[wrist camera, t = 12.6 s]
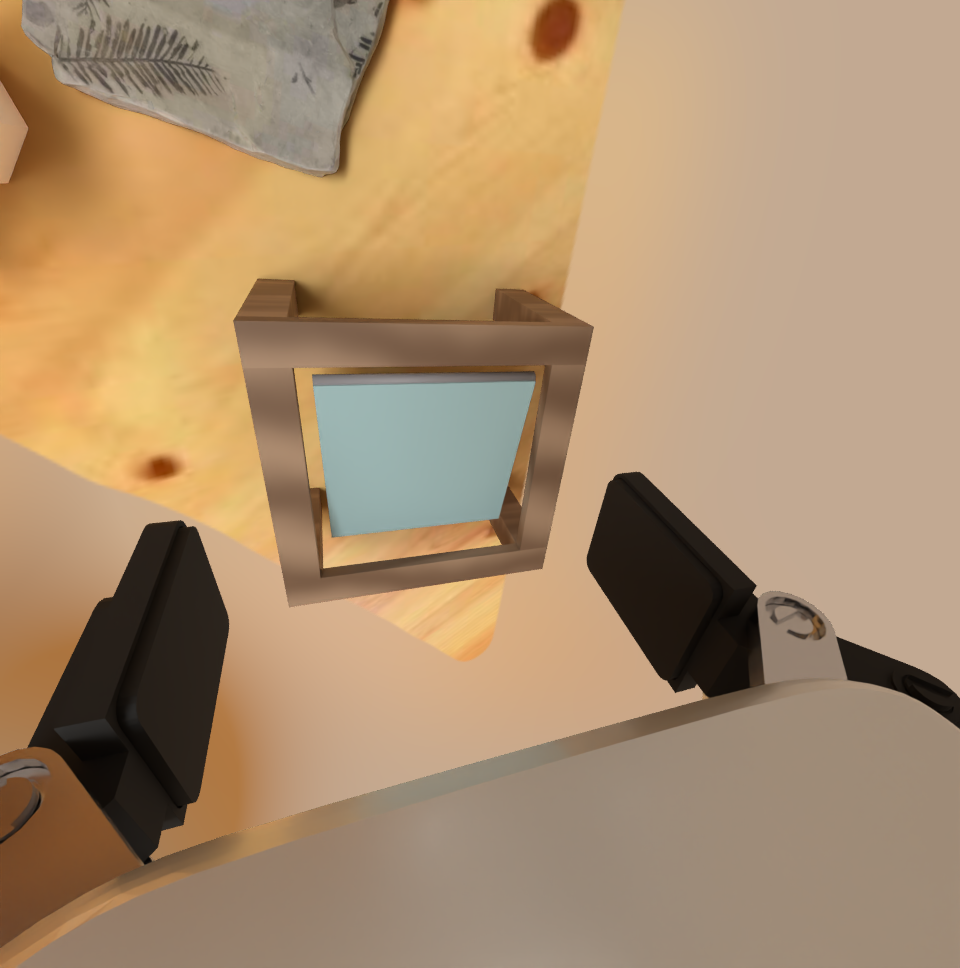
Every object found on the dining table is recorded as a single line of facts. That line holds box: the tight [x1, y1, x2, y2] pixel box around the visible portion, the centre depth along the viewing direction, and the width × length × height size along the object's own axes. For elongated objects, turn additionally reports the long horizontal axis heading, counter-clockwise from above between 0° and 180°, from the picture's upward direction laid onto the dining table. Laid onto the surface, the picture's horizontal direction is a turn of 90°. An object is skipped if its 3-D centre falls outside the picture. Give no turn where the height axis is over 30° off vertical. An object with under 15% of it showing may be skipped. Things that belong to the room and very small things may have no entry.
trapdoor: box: [312, 371, 536, 537], centre depth 33 cm, size 14×14×1 cm
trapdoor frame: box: [234, 279, 594, 607], centre depth 37 cm, size 21×21×12 cm
